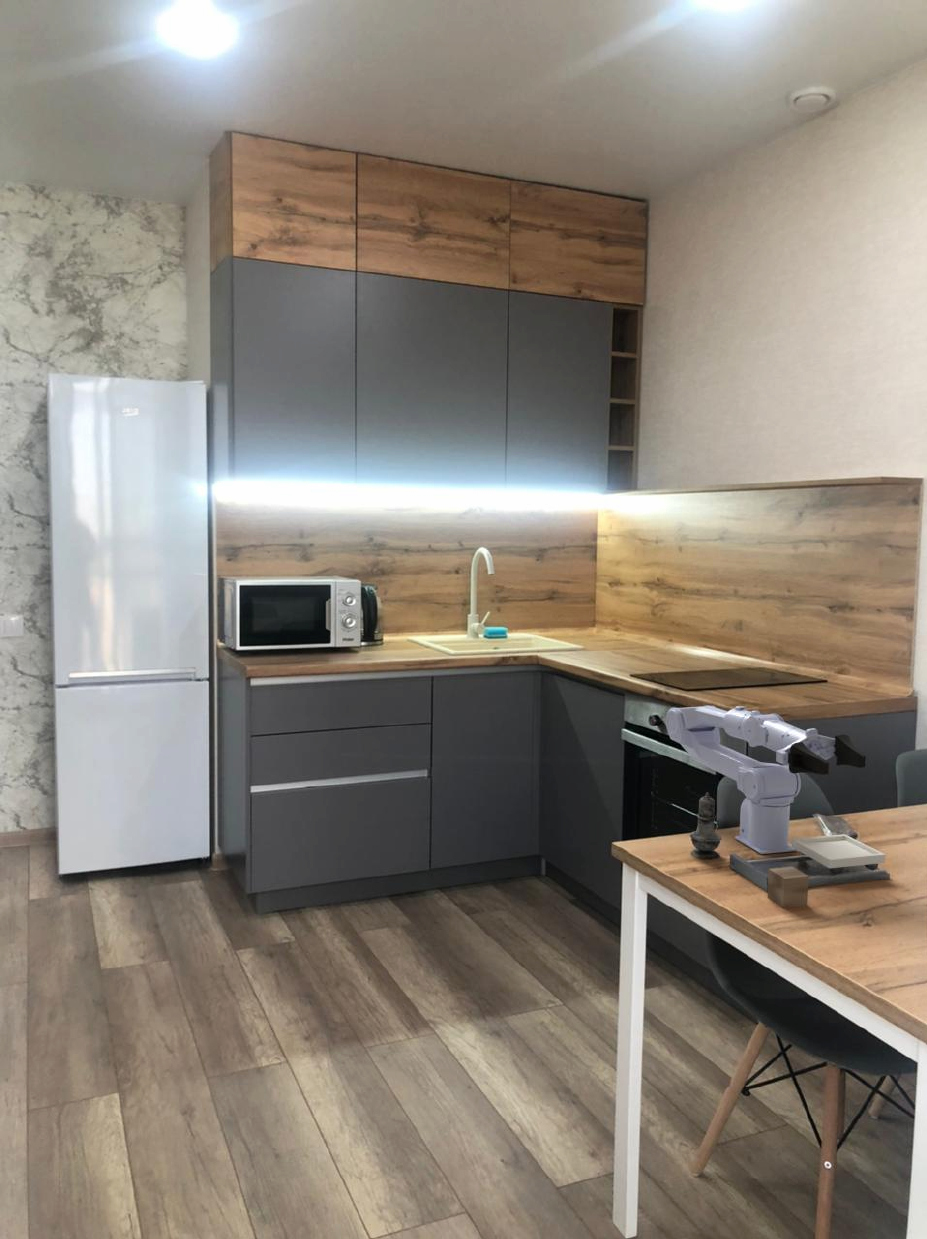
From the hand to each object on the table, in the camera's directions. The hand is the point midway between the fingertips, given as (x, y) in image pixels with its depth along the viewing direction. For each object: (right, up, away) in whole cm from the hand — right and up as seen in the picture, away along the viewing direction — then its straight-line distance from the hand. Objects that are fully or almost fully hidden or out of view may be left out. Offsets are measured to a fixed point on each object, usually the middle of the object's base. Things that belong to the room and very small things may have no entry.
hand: (845, 765), depth 171 cm
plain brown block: (-12, -22, -6) cm, 25 cm away
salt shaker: (-20, -19, +16) cm, 32 cm away
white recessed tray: (+2, -19, +9) cm, 21 cm away
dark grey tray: (-4, -20, +7) cm, 22 cm away
